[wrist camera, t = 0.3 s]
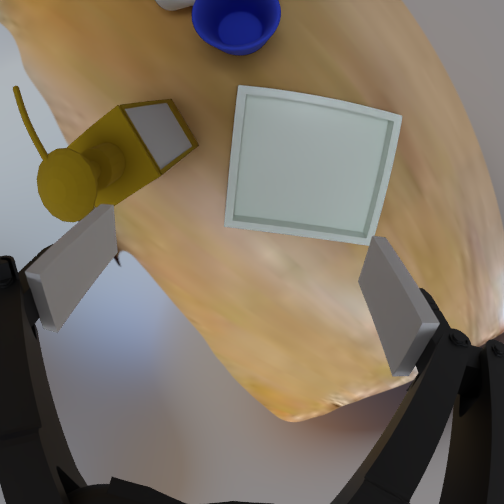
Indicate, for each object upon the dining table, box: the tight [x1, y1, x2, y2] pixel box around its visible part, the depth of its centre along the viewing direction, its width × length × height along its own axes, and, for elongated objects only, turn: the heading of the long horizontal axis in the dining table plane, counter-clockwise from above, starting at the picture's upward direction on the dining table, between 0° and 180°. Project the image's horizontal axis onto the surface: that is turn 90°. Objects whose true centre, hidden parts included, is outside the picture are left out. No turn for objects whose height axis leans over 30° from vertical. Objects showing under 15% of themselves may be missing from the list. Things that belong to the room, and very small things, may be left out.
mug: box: [192, 0, 281, 55], centre depth 26 cm, size 8×12×10 cm
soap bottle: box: [13, 86, 199, 222], centre depth 27 cm, size 7×13×24 cm, turn 28°
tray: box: [224, 85, 402, 246], centre depth 38 cm, size 18×20×3 cm
